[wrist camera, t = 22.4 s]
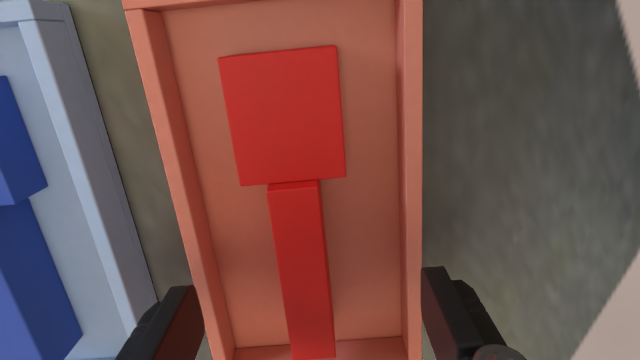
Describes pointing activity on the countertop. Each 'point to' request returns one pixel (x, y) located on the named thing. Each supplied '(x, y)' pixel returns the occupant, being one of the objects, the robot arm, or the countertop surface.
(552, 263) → the countertop surface
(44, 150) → the blue tray
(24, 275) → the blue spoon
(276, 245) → the red paddle block
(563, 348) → the countertop surface
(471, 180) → the countertop surface
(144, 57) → the red tray
